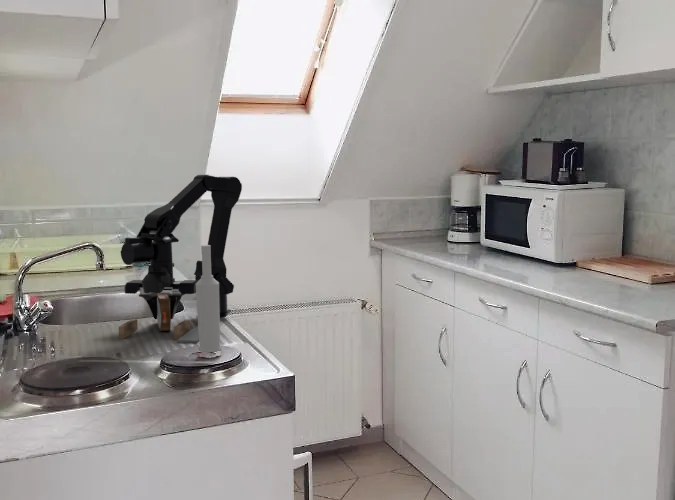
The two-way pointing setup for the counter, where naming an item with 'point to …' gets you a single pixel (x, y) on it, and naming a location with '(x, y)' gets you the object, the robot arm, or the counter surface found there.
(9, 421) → the counter surface
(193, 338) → the grey plank
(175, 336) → the tan wooden plank
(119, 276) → the counter surface
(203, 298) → the bottle
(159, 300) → the tin
